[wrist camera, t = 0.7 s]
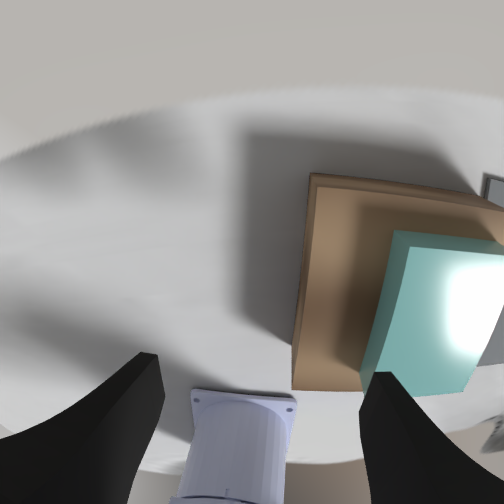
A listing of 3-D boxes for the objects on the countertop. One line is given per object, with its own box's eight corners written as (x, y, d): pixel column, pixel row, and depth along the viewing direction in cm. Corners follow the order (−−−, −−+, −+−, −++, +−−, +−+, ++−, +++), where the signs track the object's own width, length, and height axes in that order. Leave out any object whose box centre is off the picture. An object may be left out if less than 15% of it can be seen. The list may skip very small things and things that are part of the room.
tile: (450, 369, 15) (462, 391, 14) (358, 372, 16) (364, 399, 14) (497, 241, 12) (518, 257, 11) (394, 229, 13) (410, 246, 11)
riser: (435, 348, 20) (454, 385, 16) (291, 346, 20) (291, 389, 17) (478, 195, 15) (516, 214, 12) (310, 172, 16) (317, 186, 12)
